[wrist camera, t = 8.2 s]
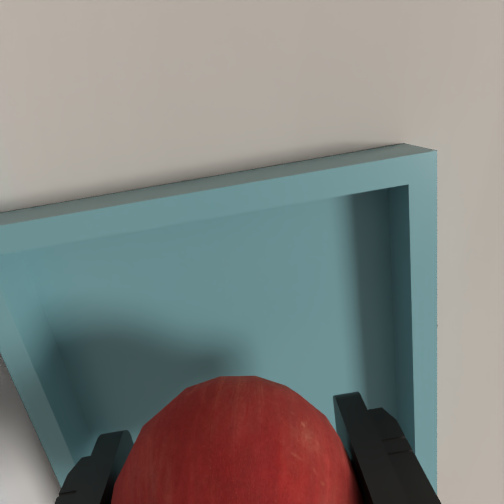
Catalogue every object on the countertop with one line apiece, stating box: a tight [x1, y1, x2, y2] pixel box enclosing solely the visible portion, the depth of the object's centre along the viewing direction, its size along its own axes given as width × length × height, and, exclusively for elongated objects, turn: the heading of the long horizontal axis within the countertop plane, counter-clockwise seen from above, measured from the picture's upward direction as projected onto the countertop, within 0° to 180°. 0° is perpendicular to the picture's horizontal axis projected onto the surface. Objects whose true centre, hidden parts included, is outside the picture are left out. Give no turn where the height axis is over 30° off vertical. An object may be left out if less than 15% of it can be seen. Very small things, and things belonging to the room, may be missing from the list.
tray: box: [0, 143, 437, 495], centre depth 14 cm, size 14×14×2 cm
